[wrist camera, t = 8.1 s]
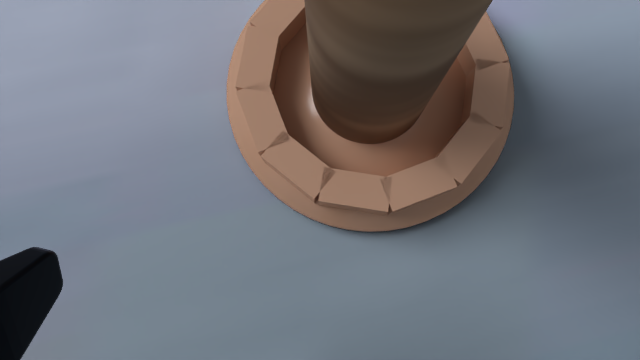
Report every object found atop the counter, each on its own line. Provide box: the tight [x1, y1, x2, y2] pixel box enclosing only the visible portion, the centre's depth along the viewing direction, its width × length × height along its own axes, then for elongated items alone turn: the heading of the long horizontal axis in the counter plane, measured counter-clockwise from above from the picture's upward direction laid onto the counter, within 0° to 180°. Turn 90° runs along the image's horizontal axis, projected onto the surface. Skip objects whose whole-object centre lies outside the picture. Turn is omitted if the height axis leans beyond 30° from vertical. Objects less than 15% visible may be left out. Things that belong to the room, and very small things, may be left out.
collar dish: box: [227, 0, 514, 232], centre depth 18 cm, size 11×11×2 cm
